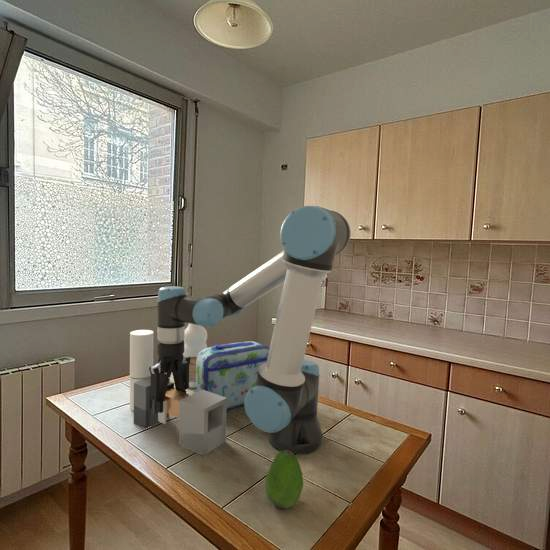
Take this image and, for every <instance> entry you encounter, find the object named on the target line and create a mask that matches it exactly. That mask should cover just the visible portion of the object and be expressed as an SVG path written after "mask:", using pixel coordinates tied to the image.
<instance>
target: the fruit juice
mask: <svg viewBox="0 0 550 550" xmlns="http://www.w3.org/2000/svg"><path fill="white" fill-rule="evenodd" d="M207 331H208V330H207V329H206V328H205V327H203V326H200V325H195V324H190V323H188V325H187V326H186V328H185V339H184V342H185V343H184V353H183V356H187V357H190V358H191V360H190V364H189V389H190V388H191V389H194V388H195V389H196V360H197V356H198V354H199V353H200V352H201V351H202V350H203V349H205V348H208V344H207V340H208V332H207Z"/></svg>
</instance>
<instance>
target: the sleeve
mask: <svg viewBox="0 0 550 550" xmlns="http://www.w3.org/2000/svg"><path fill="white" fill-rule="evenodd" d="M227 411H228V409H227V398H226V397H223V396H220V395H217V394H214V393H211V392H208V391H205V390H201V391H199V392H197V393H196V392H195V393H192V394H190V396H188V397H185V398H183V399H181V400H180V413H179V418H178V420H179V421H178V422H179V427H178V445H179V446H181V447H183V448H185V449H187V450H189V451H191V452H193V453H195V454H198V455H200V456H202V457H204V456H206V455H209V453H211V452H212V451H214V450H216V449H217V448H218V447H220V446H222V445H224V443H226V442H227V438H226V437H227V413H228V412H227ZM208 412H209V419H208ZM225 441H226V442H225Z"/></svg>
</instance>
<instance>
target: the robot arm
mask: <svg viewBox="0 0 550 550" xmlns="http://www.w3.org/2000/svg"><path fill="white" fill-rule="evenodd" d="M279 234H280V235H279V237H280V242H281V243H280V244H282V247H283V250H282V251H281V252H279V253H278V254H276V255H275V256H274V257H272V258H271V259H268V261H266V262H265V263H263V264H262V265H260V266H258V267H257V268H256V269H255V270H254V269H253V271H252V272H251V271H250V273H249V274H247V275H245V276H244V277H243V278H241V279H240V280H237V282H236V283H234V284H232V285H231V286H230V287H228V288H226V289H225V290H224V291H222V292H221V293H215V294H214V293H213V294H211V295H205V296H192V295H191V296H190V295H186V289H185V287H182V286H177V285H176V286H174V285H171V286H170V285H169V286H163V287H160V288H159V289H158V293H157V340H158V342H156V343H157V344H156V346H157V347H156V348H157V349H156V350H157V351H156V352H157V353H156V354H157V355H158V360H157V362H156V364H155V365H153V366H150V367H149V370H150V374H151V385H150V399H151V400H153V401H155V402H157V412H158V421H159V423H161V424H167V420H168V419H167V401H166V400H165V395H166V390H167V385H168V380H169V378H171V376H172V377H173V383H174V389H176V390H179V391H182V392H185V393H187V390H189V389H190V388H189V364H190V360H191V358H190V357H187V356H183V353H184V343H185V342H184V339H185V329H186V328H185V327H186V326H185V325H186V324H189V323H190V324H195V325H200V326H203V327H204V328H205V327H209V328H210V327H211V328H212V327H213V328H214V327H216V326H218V324H219V323H220V322H222V320H223V319H227V318H230V317H235V316H238V315H239V314H241V313H242V312H243V311H244V309H245V308H246V307H249V305H251V304H253V302H255V301H257V300H259V299H260V298H262V297H264V296H265V295H266V294H269V292H271V291H273V290H274V289H277V288H278V287H279V286H281V285H282V284H283V287H282V290H281V294H280V300H279V303H278V309H277V312H276V313H277V314H276V317H275V321H274V322H275V323H274V327H273V330H272V331H273V332H272V335H271V339H270V345H269V353H268V358H267V362H266V363H264V364H262V365H261V366H260V367H259V370H258V374H257V379H256V384H255V386H254V387H252V388H251V389H250V390H249V391H248V393H247V394H246V396H245V400H244V404H243V406H244V410H245V414H246V416H247V417H248V418H249V420H250V421H249V422H251V424H253V425H254V426H255V427H256V428H257V429H259V430H260V431H263V432H266V433H268V442H269V443H270V445H271V446H272V447H273V448H275V449H276V450H278V451H279V452H280V451H282V450H288V451H290V452H292V453H293V454H294V455H305V454H309V453H313V452H315V451H317V450H319V449H320V448H321V446H322V444H323V432H322V428H321V424H320V421H319V417H318V403H319V388H320V387H319V386H320V383H319V382H320V376H321V375H320V366H319V365H318V363H317V362H315V361H313V360H310V359H305V356H306V355H305V354H306V350H307V346H308V343H309V339H310V334H311V330H312V329H311V328H312V326H313V321H314V317H315V313H316V310H317V309H316V308H317V305H318V300H319V296H320V293H321V292H320V291H321V288H322V283H323V279H324V277H325V276H326V275H328V274H329V273H331V272H332V270H333V267H334V263H335V258H336V256H338V255H340V254H341V253H342V252H344V251H345V249H346V248H347V247H348V245H349V243H350V241H351V227H350V225H349V222H348V220H347V219H346V217H344V216H343V215H342V214H341V213H339V212H338V211H335V210H330V209H327V208H325V207H321V206H319V205H305V206H300V207H297V208H296V209H294V210H293V211H291V212H290V213H289V214H288V215H287V216H286V217H285V219H284V220H283V222H282V225H281V227H280V233H279Z"/></svg>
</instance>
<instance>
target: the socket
mask: <svg viewBox="0 0 550 550" xmlns="http://www.w3.org/2000/svg"><path fill="white" fill-rule="evenodd" d="M170 378H171V377H170ZM170 378H169V380H168V383H171V380H170ZM150 385H151V377H149V378H146V379H143V380H140V381H137V382H135V383H134V411H133V424H134V425H135V426H138V427H140V428H142V427H143V428H142V429H144V428H145V430H147V429H149V428H151V427H153V426H155V425H157V424H159V423H160V422H159V421H158V413H157V414H155V415H154V414H152V407H150ZM167 418H168V419H170V415H169V414H167ZM158 422H159V423H158ZM154 424H155V425H154ZM150 426H151V427H150ZM148 427H149V428H148ZM146 428H147V429H146Z"/></svg>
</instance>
